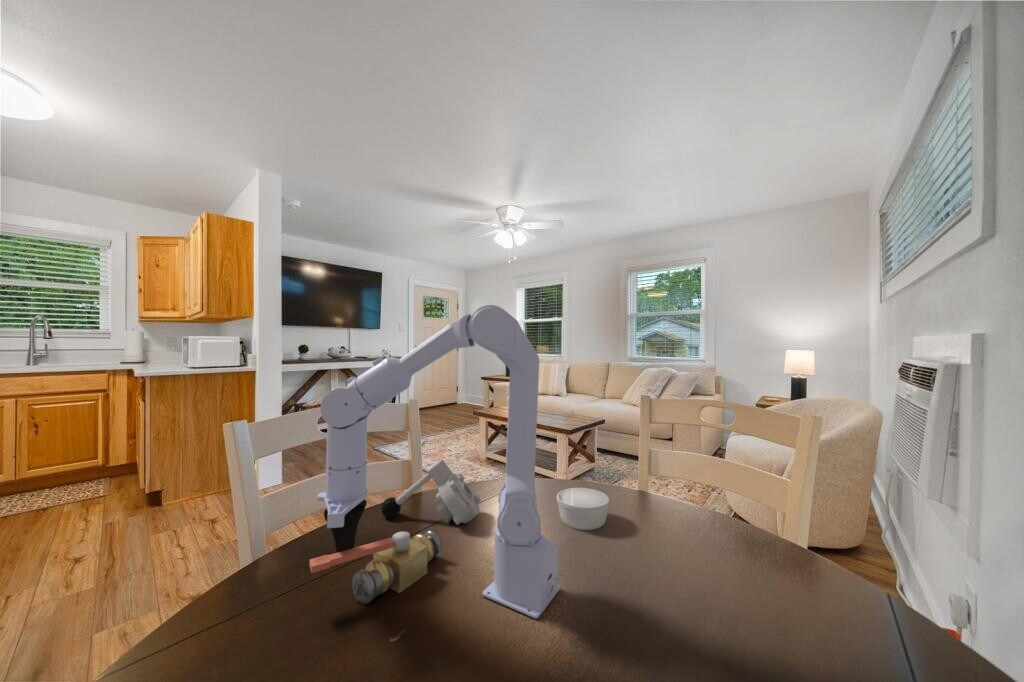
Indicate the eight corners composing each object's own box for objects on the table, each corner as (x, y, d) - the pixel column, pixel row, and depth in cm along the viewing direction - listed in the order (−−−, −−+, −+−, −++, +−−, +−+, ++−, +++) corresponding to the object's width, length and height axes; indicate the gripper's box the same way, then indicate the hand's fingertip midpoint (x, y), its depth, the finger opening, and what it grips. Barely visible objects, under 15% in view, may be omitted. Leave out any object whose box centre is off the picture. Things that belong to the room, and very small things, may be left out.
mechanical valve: (478, 518, 77) (433, 459, 79) (411, 574, 77) (367, 514, 79) (486, 501, 87) (446, 449, 89) (426, 551, 87) (387, 498, 89)
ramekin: (547, 514, 85) (547, 491, 85) (588, 506, 90) (588, 484, 90) (575, 538, 75) (576, 511, 75) (620, 527, 80) (620, 502, 80)
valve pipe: (420, 550, 70) (420, 524, 70) (445, 560, 67) (445, 532, 67) (348, 595, 57) (348, 563, 57) (374, 610, 54) (375, 576, 54)
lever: (406, 540, 64) (406, 529, 64) (412, 548, 62) (412, 536, 62) (308, 569, 56) (309, 557, 56) (311, 579, 53) (312, 566, 53)
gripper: (330, 452, 65) (328, 531, 65) (303, 483, 51) (301, 585, 50) (374, 450, 66) (372, 528, 66) (359, 479, 52) (357, 579, 52)
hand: (345, 552), depth 58 cm, fingers closed, pressing on lever
